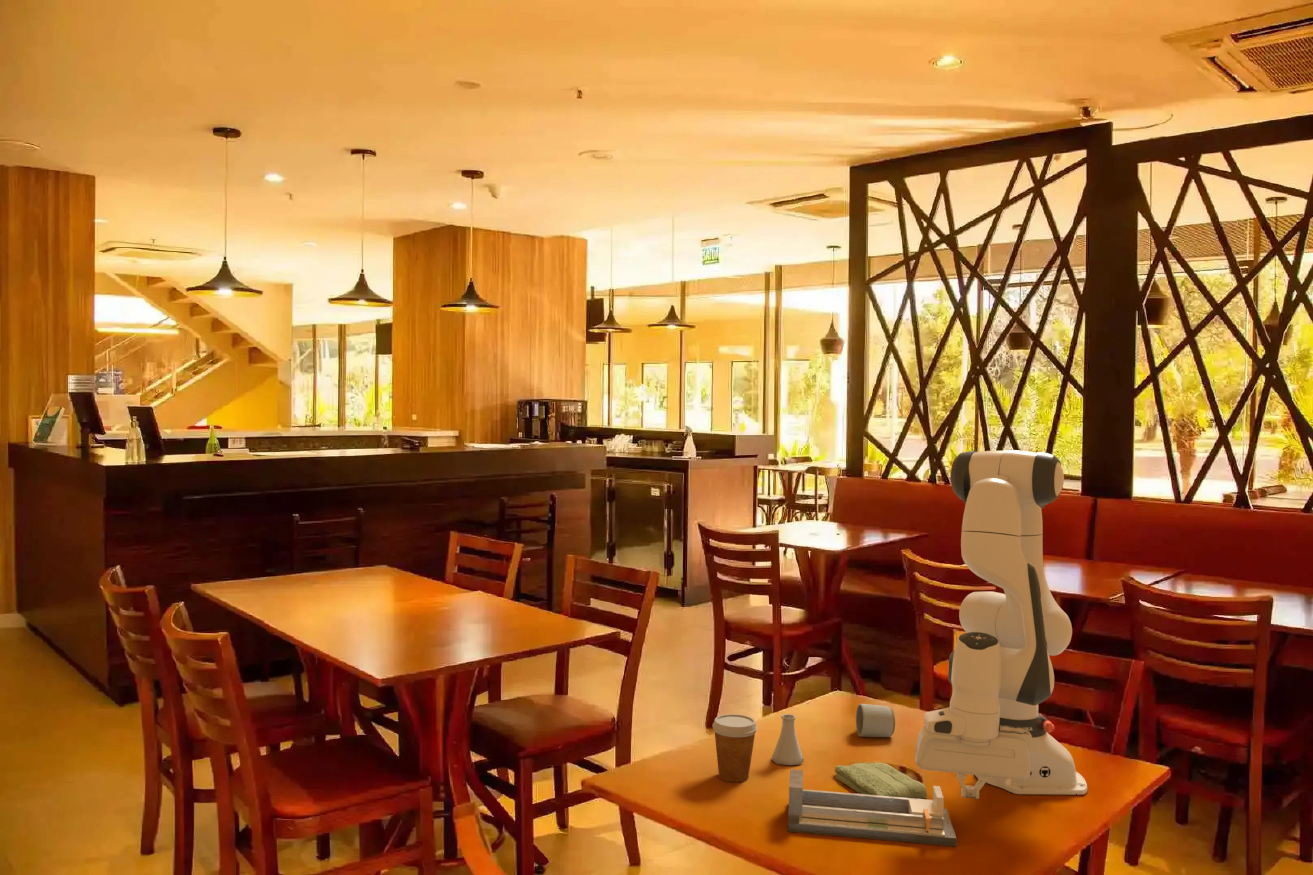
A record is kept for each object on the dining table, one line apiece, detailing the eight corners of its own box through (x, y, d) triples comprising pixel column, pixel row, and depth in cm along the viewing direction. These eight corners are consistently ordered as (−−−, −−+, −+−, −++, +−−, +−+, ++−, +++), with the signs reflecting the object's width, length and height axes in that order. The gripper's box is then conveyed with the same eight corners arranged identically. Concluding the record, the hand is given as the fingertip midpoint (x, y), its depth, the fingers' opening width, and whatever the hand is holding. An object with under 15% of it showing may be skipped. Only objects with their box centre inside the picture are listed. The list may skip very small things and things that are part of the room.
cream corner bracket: (938, 813, 182) (939, 785, 182) (945, 836, 172) (946, 806, 172) (908, 811, 183) (909, 783, 183) (913, 833, 173) (914, 803, 173)
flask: (805, 766, 209) (807, 721, 209) (772, 766, 210) (773, 720, 209) (801, 755, 217) (802, 711, 216) (769, 754, 217) (770, 710, 217)
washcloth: (881, 769, 210) (882, 755, 210) (931, 801, 193) (932, 785, 193) (829, 776, 205) (829, 762, 205) (876, 809, 189) (876, 793, 189)
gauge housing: (946, 816, 185) (947, 777, 185) (956, 846, 172) (957, 805, 172) (789, 802, 190) (790, 765, 190) (787, 831, 177) (788, 791, 177)
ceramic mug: (896, 741, 227) (897, 708, 227) (862, 741, 227) (863, 708, 227) (884, 727, 238) (884, 696, 238) (851, 727, 237) (852, 696, 237)
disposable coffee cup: (753, 768, 208) (754, 713, 208) (759, 785, 198) (760, 727, 198) (709, 767, 208) (710, 712, 207) (713, 784, 198) (714, 727, 198)
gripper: (1029, 723, 178) (1025, 796, 179) (916, 712, 182) (912, 784, 182) (1036, 733, 172) (1032, 809, 172) (919, 722, 176) (915, 797, 176)
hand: (969, 796), depth 177 cm, fingers closed
